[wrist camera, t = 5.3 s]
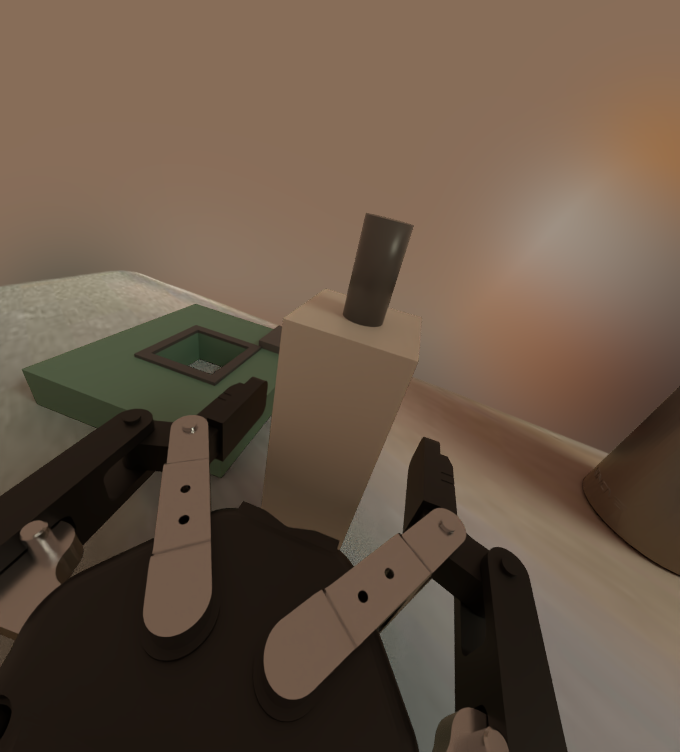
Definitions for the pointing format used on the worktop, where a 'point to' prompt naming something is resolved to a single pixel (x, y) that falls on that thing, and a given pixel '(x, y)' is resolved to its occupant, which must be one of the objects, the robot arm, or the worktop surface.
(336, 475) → the plug
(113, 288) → the worktop surface
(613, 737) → the worktop surface
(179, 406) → the green square socket base
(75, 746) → the robot arm
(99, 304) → the worktop surface
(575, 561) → the worktop surface
